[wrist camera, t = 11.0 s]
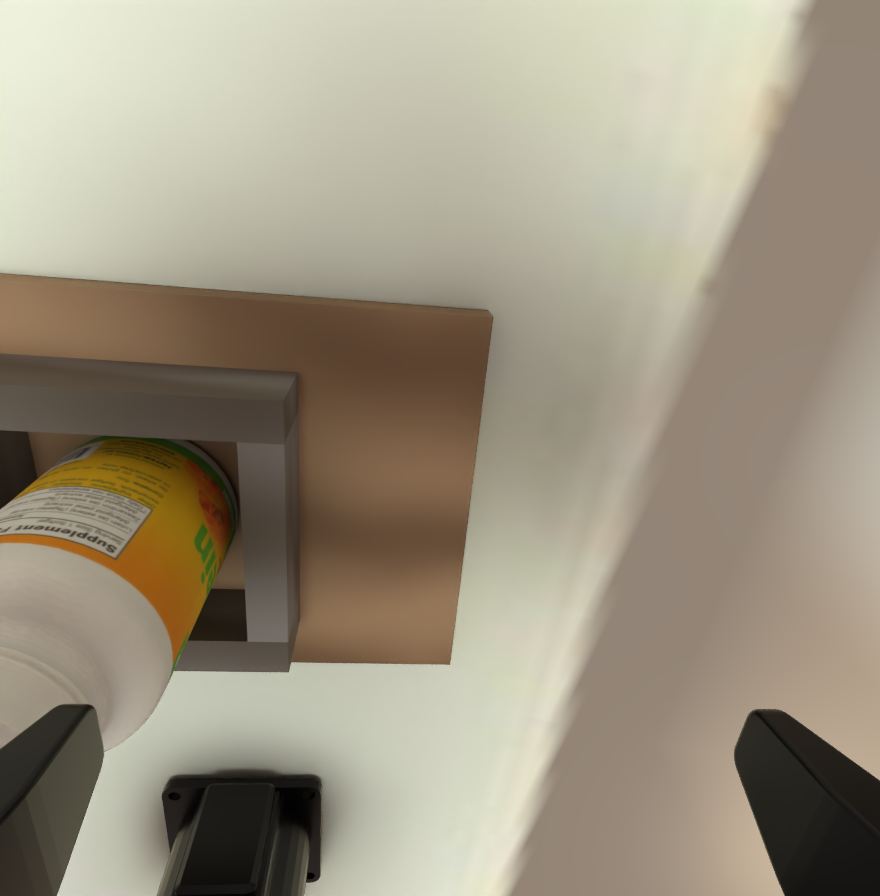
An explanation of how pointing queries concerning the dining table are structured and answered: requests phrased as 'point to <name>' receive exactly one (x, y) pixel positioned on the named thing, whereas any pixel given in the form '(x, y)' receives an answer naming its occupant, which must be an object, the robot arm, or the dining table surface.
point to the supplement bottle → (107, 578)
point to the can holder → (273, 448)
